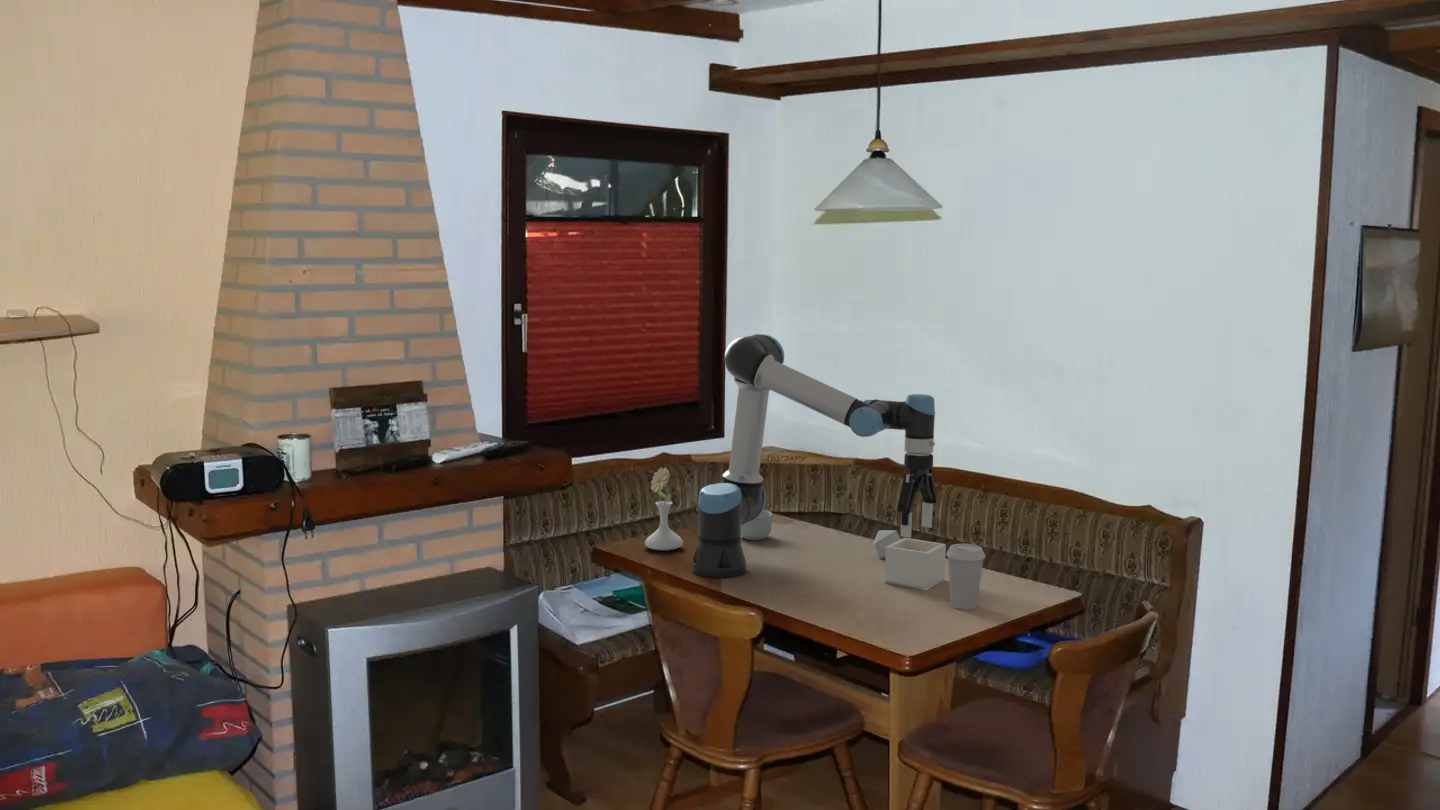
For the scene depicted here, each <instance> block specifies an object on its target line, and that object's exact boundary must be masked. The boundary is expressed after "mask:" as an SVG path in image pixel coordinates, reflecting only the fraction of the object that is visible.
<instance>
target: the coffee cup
mask: <svg viewBox="0 0 1440 810" xmlns="http://www.w3.org/2000/svg"><path fill="white" fill-rule="evenodd" d="M946 556H947V560H948V576H949V577H948V579H949V596H950V597H949V600H950V606H951V608H954V609H956V610H963V611H971V610H975V609H977V608H978V603H979V594H980V587H981V579H982V571H983V564H984V559H985V558H986V554H985V552H984V550H983V547H981V546H980V545H976V544H972V543H955V544H951V545H950V546H949V548H948V549H947V551H946V554H945V557H946Z"/></svg>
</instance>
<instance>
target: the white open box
mask: <svg viewBox="0 0 1440 810" xmlns="http://www.w3.org/2000/svg"><path fill="white" fill-rule="evenodd" d="M946 547H947V544H946V543H941V542H935V541H928V540H921V539H916V538H908V537H903V538H901V540H899V541H897V542H895V543H893V544H891V545H888V546H886V558H885V559H884V561H885V563H884V566H885V567H884V584H886V585H893V586H899V587H903V588H910V589H915V590H920V591H926V592H927V591H929V590H930V589H932V588H934V587H935V586H937V585H939V584H941V583H943V582H944V581H945V577H946V553H947V551H946V550H947V549H946Z"/></svg>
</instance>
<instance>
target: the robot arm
mask: <svg viewBox="0 0 1440 810" xmlns="http://www.w3.org/2000/svg"><path fill="white" fill-rule="evenodd" d="M723 358H724V364H725V365H724V366H725V367H726V369H727V371H728V372H729V374H730V375H731V376H733V377H734V379H733V380H734V382H735V384H736V385H737V386H738V389H737V390H738V391H737V399H736V407H735V408H736V409H735V416H734V423H733V434H732V441H731V447H730V448H731V449H730V457H729V466H728V467H729V468H728V469H727V470H726V471H724V472H723V474H722V478H721V482H717V483H714V484H713V483H712V484H708V485H705V486H704V487H703V488H701V489H700V491H699V493H698V494H699V495H698V500H697V507H698V512H697V513H698V515H697V517H698V523H697V524H698V530H697V531H698V536H697V537H698V540H697V541H698V542H697V546H696V549H695V551H694V555H693V558H692V561H691V572H692V573H694V574H696V575H698V576H702V577H708V578H731V577H732V578H733V577H737V576H742V575H743V574H746V572H747V571H748V569H747V567H748V566H747V565H748V563H747V560H746V557H745V553H744V550H743V547H742V542H741V525H743V524H744V523H746V522H749V521H752V520H754V519H755V518H756V517H757V516H758V515H759V514H760V513H761V512H762V511H763V510H765V506H766V504H767V495H766V494H767V493H766V491H765V489H764V488H763V486H764V485H763V484H764V477H763V476H762V475H761V473H760V466H761V457H762V451H763V441H764V434H765V433H764V432H765V428H766V427H765V426H766V419H767V410H768V402H769V394H770V391H772V392H774V393H776V394H778V395H780V396H783V397H785V398H787V399H789V400H791V401H793V402H796V403H797V404H799V405H801V406H804V407H806V408H808V409H810V410H812V411H815V412H817V413H819V414H821V415H823V416H824V417H827V418H830V419H831V420H834V421H835V422H838V423H840V424H841V425H844V426H847V427H848V428H850V429H851V431H852V432H853V433H854V434H855V435H856V436H858V437H861V438H867V437H872V436H874V435H876V434H877V433H879V432H882V431H884V430H900V431H902V430H903V431H904V434H905V435H904V452H905V454H904V459H903V461H904V463H903V464H904V465H903V466H904V468H905V469H908V470H909V473H908V474H903V477H902V479H903V480H902V486H901V491H900V495H899V499H898V503H897V508H896V511H897V512H898V513H900V535H899V537H903V538H909V539H911V538H912V525H913V524H912V522H913V520H912V518H913V512H911V511H912V507H913V505H914V502H915V499H916V496H917V493H918V492H920V494H921V497H922V499H923V502H922V503H921V504H922V505H921V528H922V527H924V528H929V529H930V528H932V527H933V508H934V507H933V506H934V505H933V504H937V498H938V497H937V492H936V485H935V482H934V481H935V480H934V472H933V470H934V469H933V467H934V455H933V452H934V446H935V445H936V443H935V442H934V441H935V440H934V436H935V435H934V434H935V417H936V416H935V415H936V410H935V409H936V408H935V407H936V406H935V404H936V403H935V397H933V396H932V395H929V394H919V393H918V394H917V393H916V394H907V396H906V398H905V400H904V401H893V400H881V399H875V398H874V399H864V400H861V399H858V398H856V397H854V396H853V395H849V394H848V393H846V392H843V391H841V390H839V389H837V388H834V387H833V386H830V385H828V384H826V383H824V382H822V381H821V380H820V381H819V380H818V379H816V378H813V377H811V376H808V375H807V374H805V373H803V372H801V371H798V370H796V369H794V368H792V367H790V366H787V365H785V352H784V349H783V346H782V344H780V342H779V340H777V338H775V337H773V336H771V335H768V334H762V333H761V334H759V333H757V334H753V335H748V336H742V337H738V338H736V339H734V340H732V341H731V342H730V343H729V344H728V346H727V348H726V349H725V352H724V357H723Z"/></svg>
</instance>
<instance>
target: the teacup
mask: <svg viewBox="0 0 1440 810" xmlns="http://www.w3.org/2000/svg"><path fill="white" fill-rule="evenodd" d="M772 520H773V513H772V512H771V511H769V510H765V509H763V511H762V512H761V513H760V514H759V515H758V516H757V517H756V518H755V519H754V520H752V521H749V522H746V523H744V524H743V525H741V536H742V538H743V539H745V540H748V541H762V540H764V539H766V538H767V537H768V536H770V534H771V531H772V528H773V527H772V525H773V524H772V522H773V521H772Z"/></svg>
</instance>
